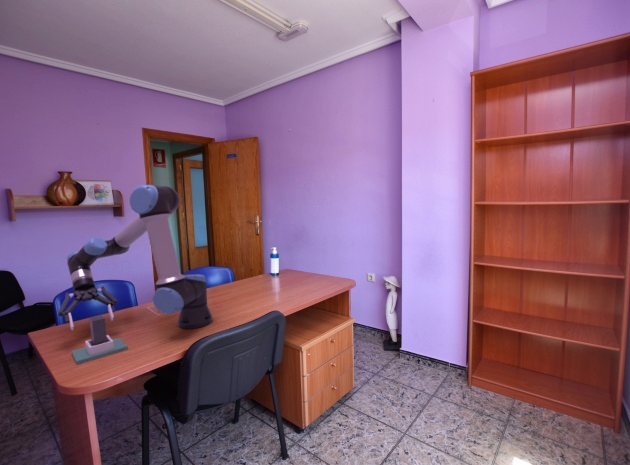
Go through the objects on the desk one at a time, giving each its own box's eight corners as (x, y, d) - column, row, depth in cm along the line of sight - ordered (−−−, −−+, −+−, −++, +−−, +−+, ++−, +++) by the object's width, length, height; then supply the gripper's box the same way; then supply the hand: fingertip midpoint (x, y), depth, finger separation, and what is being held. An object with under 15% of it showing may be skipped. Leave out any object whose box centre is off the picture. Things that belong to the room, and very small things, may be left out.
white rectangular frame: (158, 314, 162) (147, 307, 175) (158, 315, 162) (147, 308, 175) (178, 309, 170) (166, 303, 182) (179, 310, 170) (167, 303, 183)
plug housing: (104, 344, 125) (101, 315, 124) (107, 348, 121) (104, 318, 120) (92, 348, 122) (89, 318, 121) (95, 352, 118) (92, 321, 117)
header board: (119, 340, 131) (119, 330, 131) (127, 349, 123) (126, 338, 122) (72, 354, 120) (70, 343, 120) (76, 364, 112) (75, 353, 111)
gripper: (114, 281, 149) (126, 319, 140) (46, 293, 132) (53, 337, 122) (116, 272, 145) (128, 310, 135) (45, 282, 127) (53, 327, 118)
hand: (93, 323), depth 129 cm, fingers open, 13 cm apart
